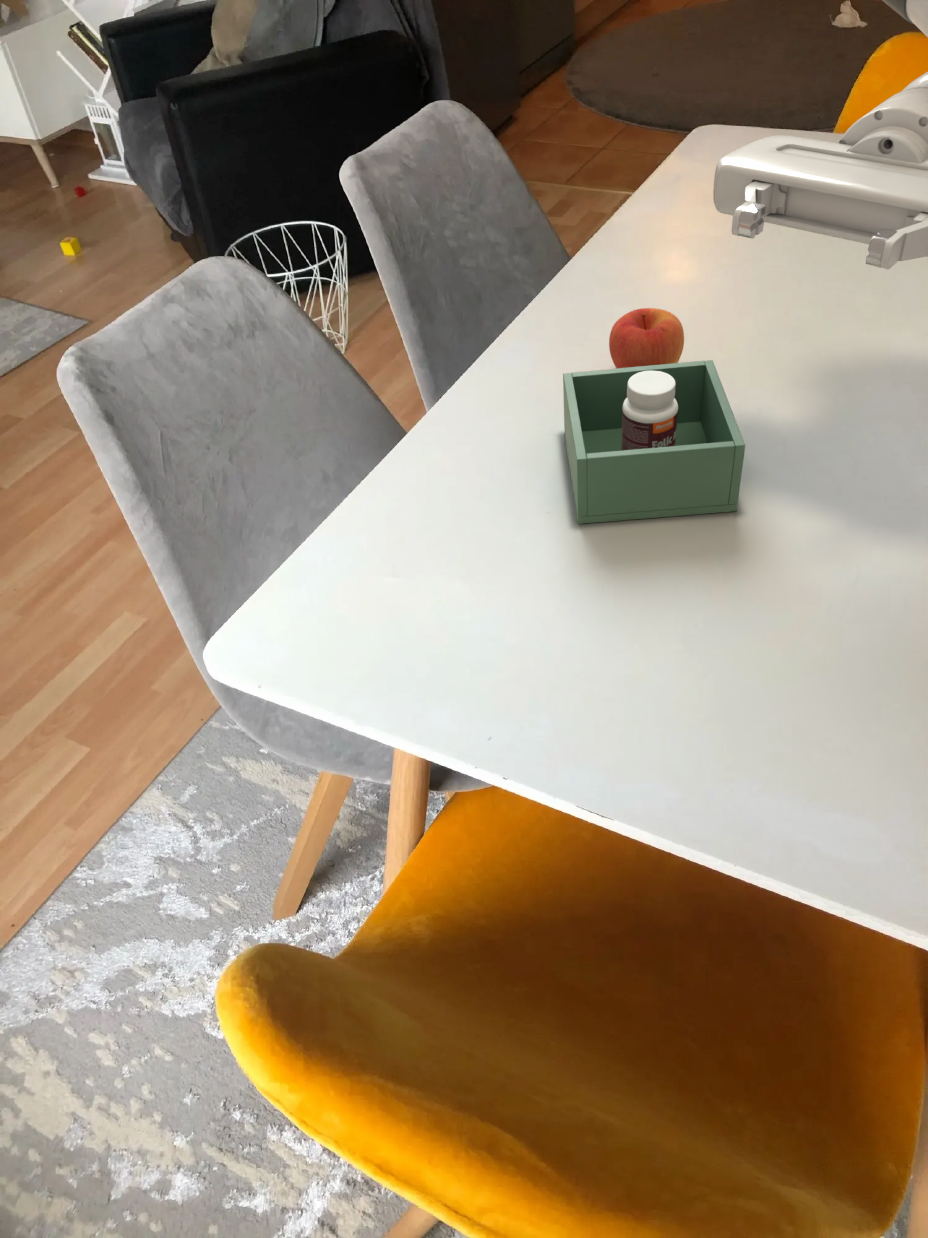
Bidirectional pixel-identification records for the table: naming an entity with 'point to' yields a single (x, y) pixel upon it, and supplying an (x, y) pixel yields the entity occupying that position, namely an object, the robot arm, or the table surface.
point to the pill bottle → (649, 411)
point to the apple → (646, 338)
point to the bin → (651, 477)
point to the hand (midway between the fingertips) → (807, 240)
